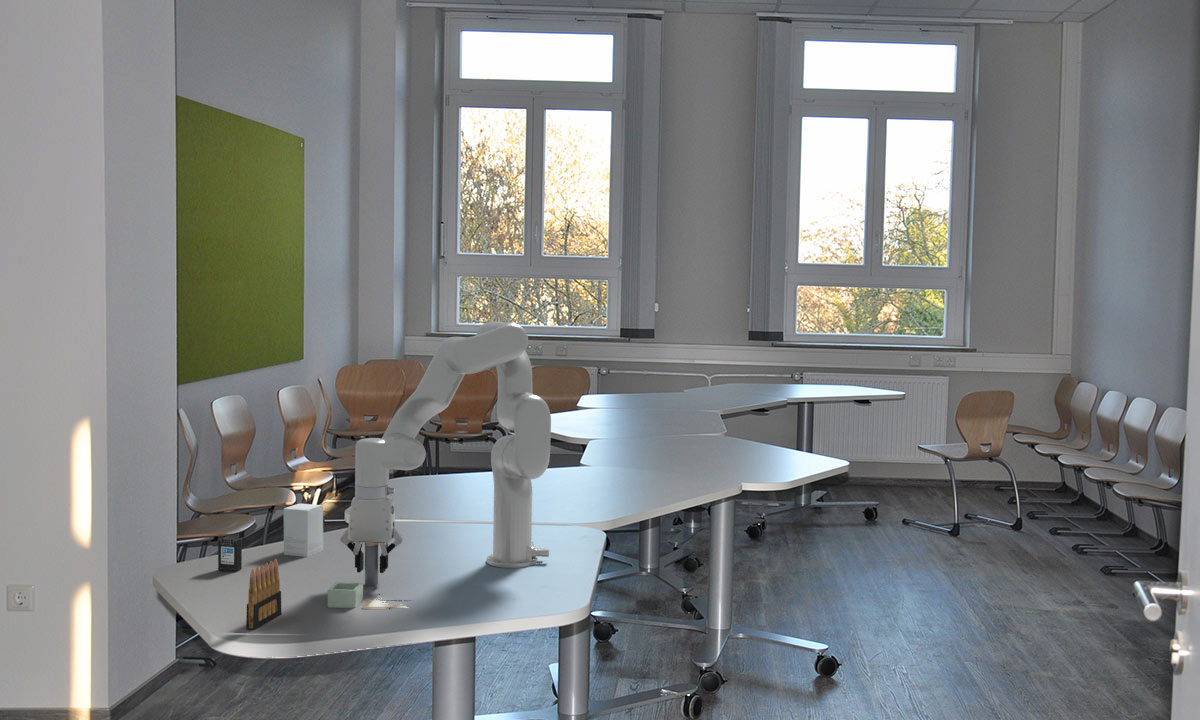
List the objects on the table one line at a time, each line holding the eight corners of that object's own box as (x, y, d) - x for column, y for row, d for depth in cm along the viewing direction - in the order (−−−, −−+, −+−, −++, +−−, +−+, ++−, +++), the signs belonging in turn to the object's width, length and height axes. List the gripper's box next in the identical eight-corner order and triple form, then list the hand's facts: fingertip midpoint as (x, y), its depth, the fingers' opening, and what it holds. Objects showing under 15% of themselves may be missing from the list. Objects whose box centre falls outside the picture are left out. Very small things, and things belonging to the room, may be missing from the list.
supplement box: (324, 553, 266) (324, 504, 265) (307, 559, 259) (307, 510, 258) (300, 550, 268) (300, 502, 268) (282, 556, 261) (282, 507, 261)
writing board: (442, 596, 228) (442, 593, 228) (431, 612, 216) (431, 609, 216) (375, 594, 229) (375, 591, 229) (361, 610, 217) (361, 607, 217)
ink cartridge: (217, 571, 246) (217, 538, 246) (222, 568, 249) (222, 536, 248) (236, 572, 245) (236, 539, 245) (241, 570, 248) (241, 537, 247)
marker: (380, 585, 236) (380, 534, 236) (376, 589, 233) (376, 537, 233) (366, 585, 236) (366, 533, 236) (362, 588, 233) (362, 536, 233)
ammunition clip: (273, 613, 214) (273, 557, 213) (281, 614, 213) (281, 557, 213) (245, 629, 203) (245, 569, 203) (254, 630, 203) (254, 570, 202)
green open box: (363, 601, 224) (363, 583, 224) (355, 609, 218) (355, 590, 218) (335, 600, 224) (335, 582, 224) (327, 608, 218) (327, 589, 218)
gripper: (412, 490, 237) (411, 568, 238) (340, 488, 238) (339, 566, 239) (405, 496, 230) (404, 576, 231) (330, 494, 230) (330, 574, 231)
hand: (371, 570), depth 235 cm, fingers open, 4 cm apart
